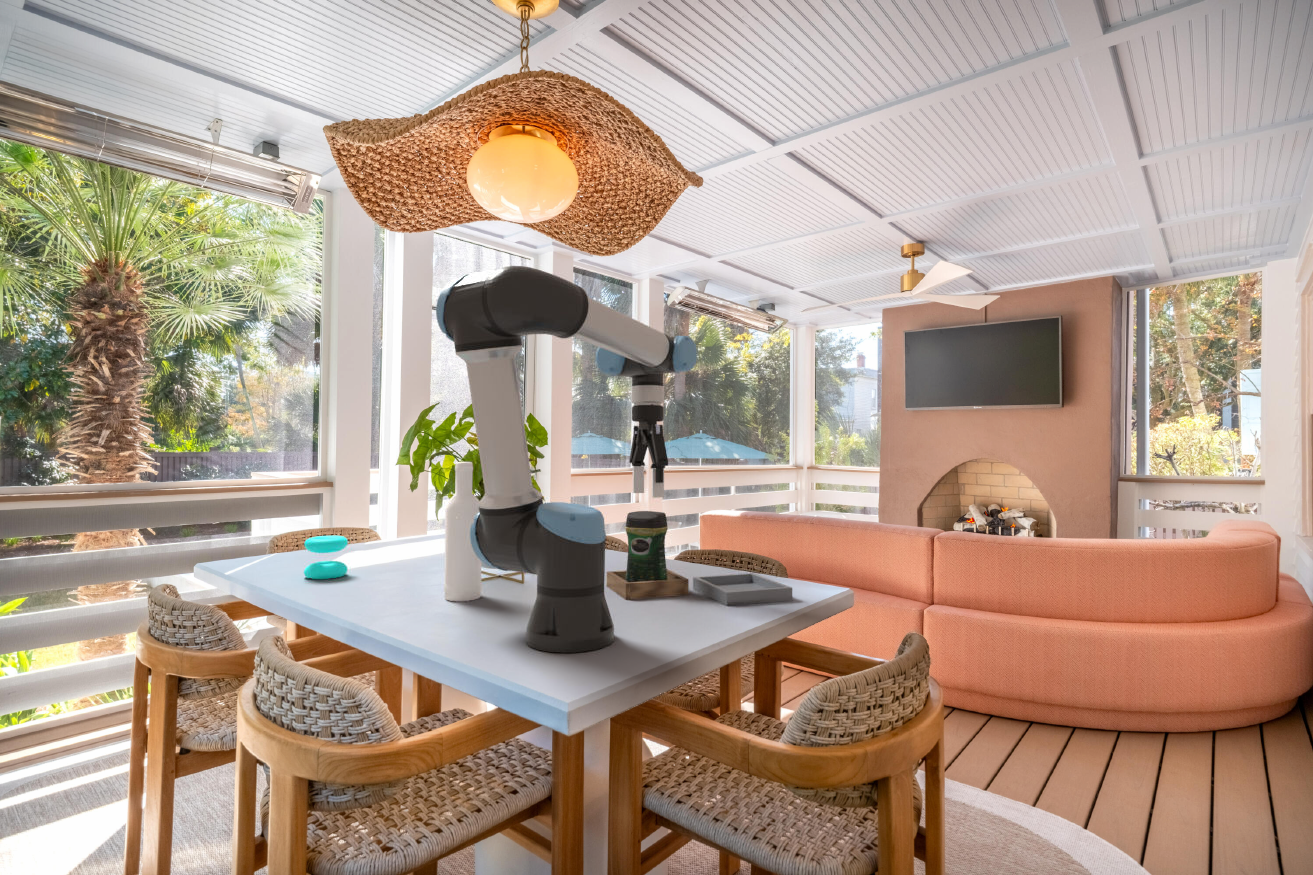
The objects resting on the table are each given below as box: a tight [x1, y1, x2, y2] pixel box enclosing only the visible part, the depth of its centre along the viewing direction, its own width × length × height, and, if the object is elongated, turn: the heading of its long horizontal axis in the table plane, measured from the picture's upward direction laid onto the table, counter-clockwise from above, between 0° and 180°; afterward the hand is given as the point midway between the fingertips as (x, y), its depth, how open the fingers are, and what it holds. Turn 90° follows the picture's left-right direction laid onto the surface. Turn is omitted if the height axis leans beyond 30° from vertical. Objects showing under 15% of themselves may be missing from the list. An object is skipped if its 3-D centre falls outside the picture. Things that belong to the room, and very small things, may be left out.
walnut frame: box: [606, 568, 690, 600], centre depth 158 cm, size 15×15×4 cm
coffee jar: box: [624, 510, 668, 582], centre depth 158 cm, size 10×8×19 cm
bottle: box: [443, 461, 483, 602], centre depth 149 cm, size 8×8×30 cm
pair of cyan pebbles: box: [303, 535, 349, 580], centre depth 172 cm, size 10×10×10 cm
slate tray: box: [692, 572, 793, 607], centre depth 154 cm, size 16×18×3 cm
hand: (647, 495), depth 158 cm, fingers open, 13 cm apart
